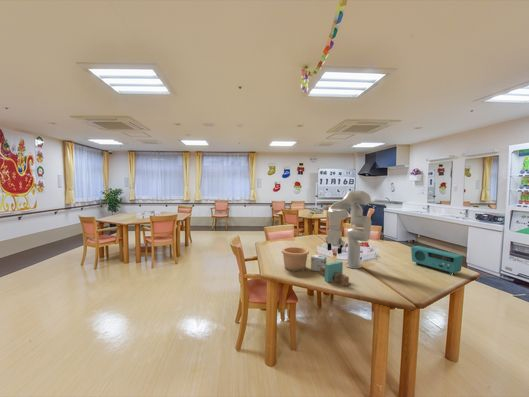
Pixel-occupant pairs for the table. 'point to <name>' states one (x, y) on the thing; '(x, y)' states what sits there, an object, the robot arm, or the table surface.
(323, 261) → the light bulb box
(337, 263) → the teal panel
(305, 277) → the table surface
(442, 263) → the radio
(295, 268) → the pottery
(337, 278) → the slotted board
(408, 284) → the table surface
